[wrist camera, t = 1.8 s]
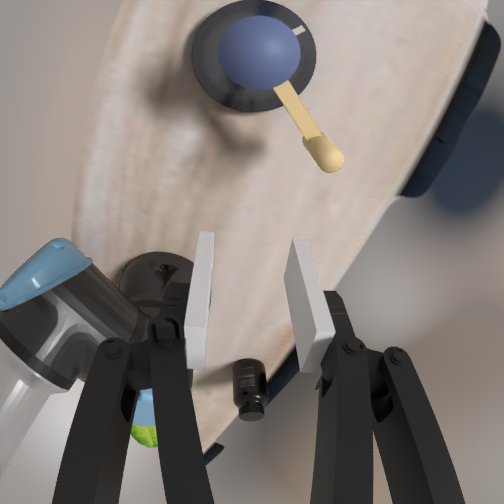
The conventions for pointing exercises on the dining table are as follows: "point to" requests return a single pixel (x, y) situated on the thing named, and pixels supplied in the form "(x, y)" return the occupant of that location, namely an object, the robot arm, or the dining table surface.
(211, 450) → the dining table surface
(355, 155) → the dining table surface
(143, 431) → the lettuce
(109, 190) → the dining table surface
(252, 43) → the blue crank handle
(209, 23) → the post base
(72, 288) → the robot arm
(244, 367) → the supplement bottle
